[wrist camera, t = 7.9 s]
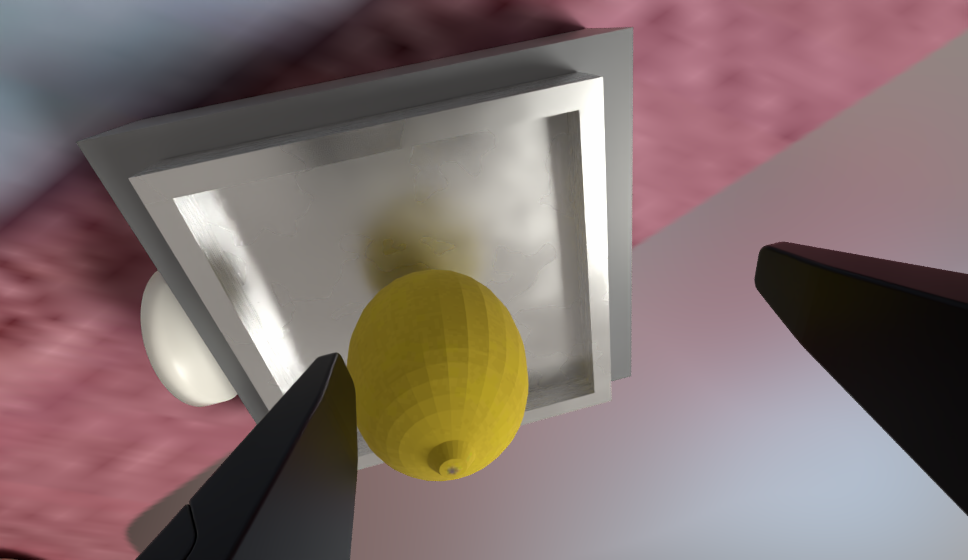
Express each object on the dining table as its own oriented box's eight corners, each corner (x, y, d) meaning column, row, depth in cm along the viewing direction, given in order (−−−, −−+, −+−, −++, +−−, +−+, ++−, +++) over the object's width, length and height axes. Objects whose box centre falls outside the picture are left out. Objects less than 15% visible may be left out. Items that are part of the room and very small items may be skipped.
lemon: (328, 267, 16) (282, 444, 9) (470, 211, 16) (531, 346, 9) (392, 372, 19) (394, 566, 12) (513, 324, 19) (584, 492, 12)
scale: (586, 28, 18) (665, 26, 13) (599, 331, 26) (650, 403, 21) (113, 125, 17) (-10, 166, 12) (282, 413, 25) (254, 512, 20)
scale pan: (578, 71, 15) (603, 76, 13) (594, 372, 22) (611, 400, 20) (160, 160, 14) (128, 178, 12) (318, 446, 21) (312, 482, 19)
